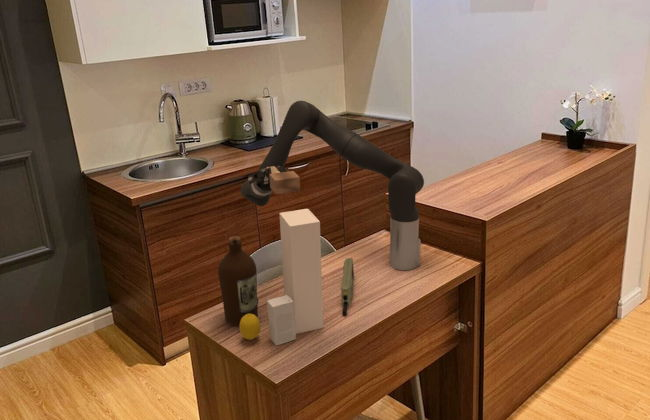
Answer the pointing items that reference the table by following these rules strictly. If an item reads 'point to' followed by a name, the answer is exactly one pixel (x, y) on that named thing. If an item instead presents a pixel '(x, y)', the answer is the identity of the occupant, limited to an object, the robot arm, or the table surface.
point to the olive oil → (238, 283)
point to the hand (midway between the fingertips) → (274, 169)
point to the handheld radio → (347, 284)
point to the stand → (302, 267)
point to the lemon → (249, 326)
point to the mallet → (284, 181)
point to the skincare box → (281, 319)
